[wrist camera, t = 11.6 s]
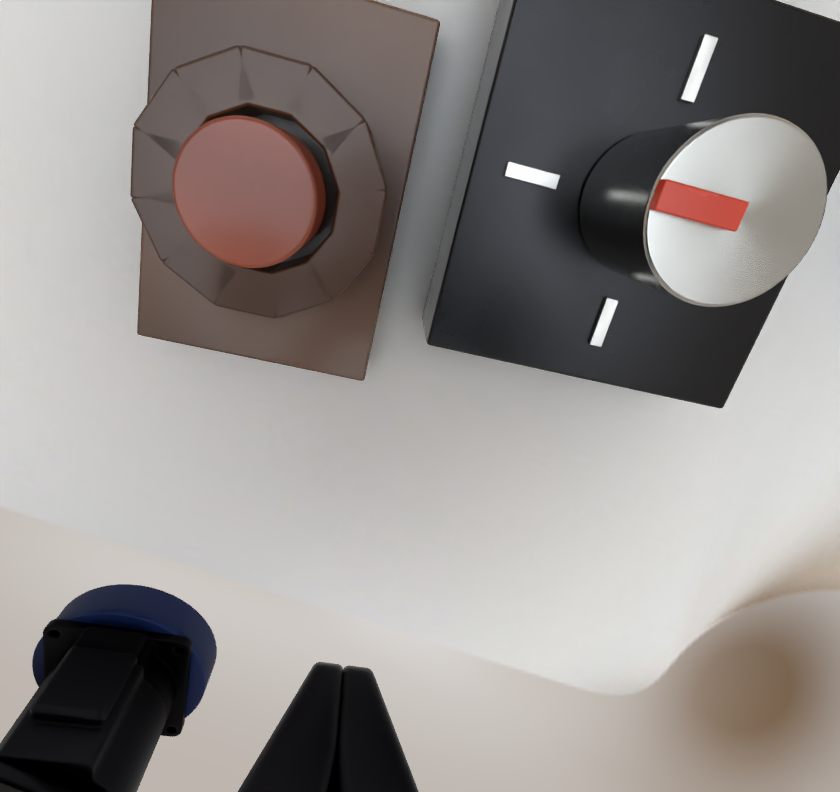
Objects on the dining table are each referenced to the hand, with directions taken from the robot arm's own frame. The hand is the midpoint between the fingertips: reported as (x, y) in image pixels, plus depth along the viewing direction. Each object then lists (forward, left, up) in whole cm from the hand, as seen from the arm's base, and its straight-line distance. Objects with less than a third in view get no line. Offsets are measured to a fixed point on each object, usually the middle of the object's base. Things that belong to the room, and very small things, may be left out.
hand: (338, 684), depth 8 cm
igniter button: (+6, +4, -9) cm, 11 cm away
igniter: (+6, +4, -12) cm, 14 cm away
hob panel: (+8, -6, -12) cm, 15 cm away
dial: (+8, -6, -9) cm, 13 cm away
